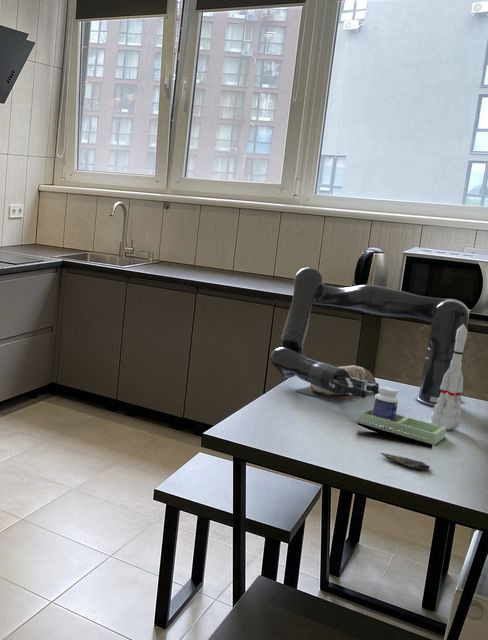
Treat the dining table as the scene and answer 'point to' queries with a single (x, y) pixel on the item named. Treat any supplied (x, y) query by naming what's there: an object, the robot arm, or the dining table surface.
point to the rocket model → (451, 388)
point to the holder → (406, 427)
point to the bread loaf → (320, 392)
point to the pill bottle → (385, 403)
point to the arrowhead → (407, 462)
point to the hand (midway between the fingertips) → (376, 394)
